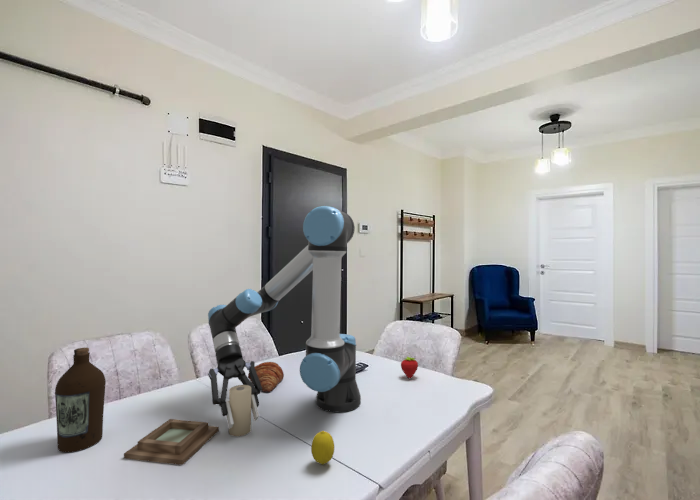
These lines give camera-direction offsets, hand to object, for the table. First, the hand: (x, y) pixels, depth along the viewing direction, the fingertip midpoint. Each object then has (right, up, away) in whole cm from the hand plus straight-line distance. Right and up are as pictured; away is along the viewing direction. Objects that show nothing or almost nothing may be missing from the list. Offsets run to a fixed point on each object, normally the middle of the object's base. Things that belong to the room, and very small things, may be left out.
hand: (244, 422), depth 95 cm
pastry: (-3, -5, +40) cm, 40 cm away
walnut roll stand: (-17, -4, -4) cm, 18 cm away
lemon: (+23, -4, -12) cm, 26 cm away
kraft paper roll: (-2, -4, +3) cm, 5 cm away
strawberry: (+53, -5, +44) cm, 70 cm away
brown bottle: (-43, -4, -4) cm, 43 cm away
